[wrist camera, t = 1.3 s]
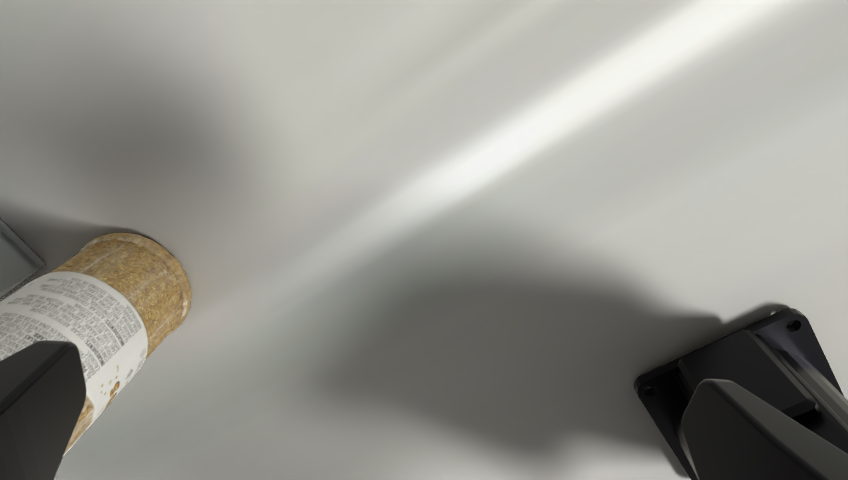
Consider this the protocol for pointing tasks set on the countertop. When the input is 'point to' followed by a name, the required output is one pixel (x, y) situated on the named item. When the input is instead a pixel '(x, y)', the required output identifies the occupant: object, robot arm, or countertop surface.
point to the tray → (15, 260)
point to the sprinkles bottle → (101, 312)
